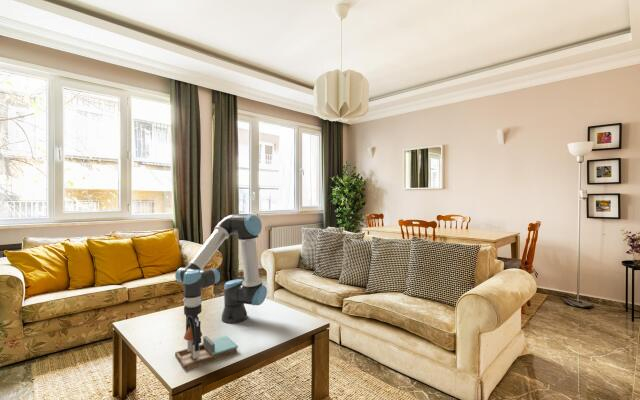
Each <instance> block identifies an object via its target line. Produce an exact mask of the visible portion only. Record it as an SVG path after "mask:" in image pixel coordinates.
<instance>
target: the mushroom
mask: <svg viewBox="0 0 640 400" xmlns="http://www.w3.org/2000/svg"><path fill="white" fill-rule="evenodd" d="M192 327H194V326H192ZM202 336H203V333H202V331H201V337H202ZM183 339H184V340H185V341H187V340H191V358H192V359H193V345H192V343H194V342H193V334H192V329H191V327H190V328H189V329H188V330H187V331H186V330H185V333H184V336H183Z"/></svg>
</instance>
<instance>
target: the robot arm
mask: <svg viewBox="0 0 640 400" xmlns="http://www.w3.org/2000/svg"><path fill="white" fill-rule="evenodd" d="M262 226H263V224H262V221H261V219H260V217H258V216H257V215H256V214H250V213H232V214H231V213H230V214H229V215H227V216H225V217H223V219H221V220H220V221H219V222H218V223H217V224H216V225H215V227H214V228H213V232H212V233H211V234H210V236H209V237H208V238H207V240H206V241H205V242H204V243H203V244H202V246H201V247H200V248H199V250H198V251H197V252H196V253H195V255H194V256H193V257H192V258H191V259H190V261H189V262H188V264H187V265H186V266H184V267H180V268H178V269H177V270H176V271H175V275H174V276H175V279H176V281H177V282H178V283H182V285H183V299H182V302H183V305H184V306H183V314H184V316H185V332H186V331H187V330H188V329H189V328H190V327H191V329H192V334H193V342H194V343H192V345H193V359H194V358H197V357H200V353H199V345H200V344H202V336H201V332H202V331H201V329H202V328H201V320H199V316H198V315H200V314H201V313H202V311H203V309H202V289H206V288H208V287H211V286H214V285H216V284H218V283H220V280H221V273H220V271H219V270H218V269H216V268H210V269H208V270H207V269H204V268H205V267H206V265H207V264H208V263H209V261H210V260H211V258H212V257H213V256H214V254H215V253H216V252H217V250H219V248H220V247H221V245H222V244H223V242H224V241H225V240H227V239H229V237H230V236H232V235H237V240H238V241H240V247H241V249H240V250H241V258H242V271H243V278H244V279H241V278H240V279H238V278H237V279H232V280H228V281H226V282H225V283H224V287H223V288H224V289H223V296H224V297H223V301H224V303H223V304H224V307H223V310H222V313H221V321H222V322H224V323H228V324H236V323H240V322H244V321H245V320H247V318H248V312H247V309H246V306H245V305H251V306H261V305H262V304H263V303H264V301H265V300H266V298H267V294H268V288H267V286H266V285H265V284H263V280H262V279H261V278H260V273H259V262H258V250H257V239H258V237H259V234H261V232H262ZM192 326H194V327H192ZM186 341H187V349H188V352H189V351H191V340H186Z"/></svg>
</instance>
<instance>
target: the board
mask: <svg viewBox="0 0 640 400" xmlns="http://www.w3.org/2000/svg"><path fill="white" fill-rule="evenodd" d="M199 353H200V357H197V358H194V359H192V358H191V351H189V352H188V348H186V349H182V350H178V351H175V353H174V354H175V355H174V356H175V359H176V360H177V362H178V363H179V364H180V366H181V367H182V369H183V370H184V371H187V370H190V369H193V368H197V367H200V366H203V365H206V364H209V363H212V362H214V361H218V360H222V359H225V358H227V357H230V356H233V355H235V354H237V353H238V348H235V349H232V350H229V351H225V352H222V353H219V354H216V355H212V354H211V353H210V352H209V351H208V349H207V348H206V347H205V346H204V345H203V343H201V344H199Z"/></svg>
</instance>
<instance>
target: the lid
mask: <svg viewBox="0 0 640 400" xmlns="http://www.w3.org/2000/svg"><path fill="white" fill-rule="evenodd" d="M202 339H203V342H202V344H203V345H204V346H205V347H206V348H207V349H208V351H209V352H210V353H211V354H212V355H216V354H219V353H222V352H225V351H229V350H232V349H235V348H237V349H238V348H239V346H238V344H237V343H236V342H234V341H233V339H231V338H230V337H229V336H227V335H225V336H221V337H217V338H214V339H210V338H209V337H208V336H207V335H205V336H203V338H202Z"/></svg>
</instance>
